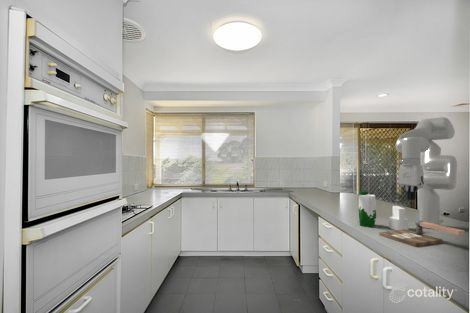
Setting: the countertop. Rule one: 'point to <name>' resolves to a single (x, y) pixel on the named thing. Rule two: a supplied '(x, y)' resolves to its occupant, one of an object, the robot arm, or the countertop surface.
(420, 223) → the swing arm
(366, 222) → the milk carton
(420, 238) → the label board
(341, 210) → the countertop surface
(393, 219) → the base with upright slab
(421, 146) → the robot arm
